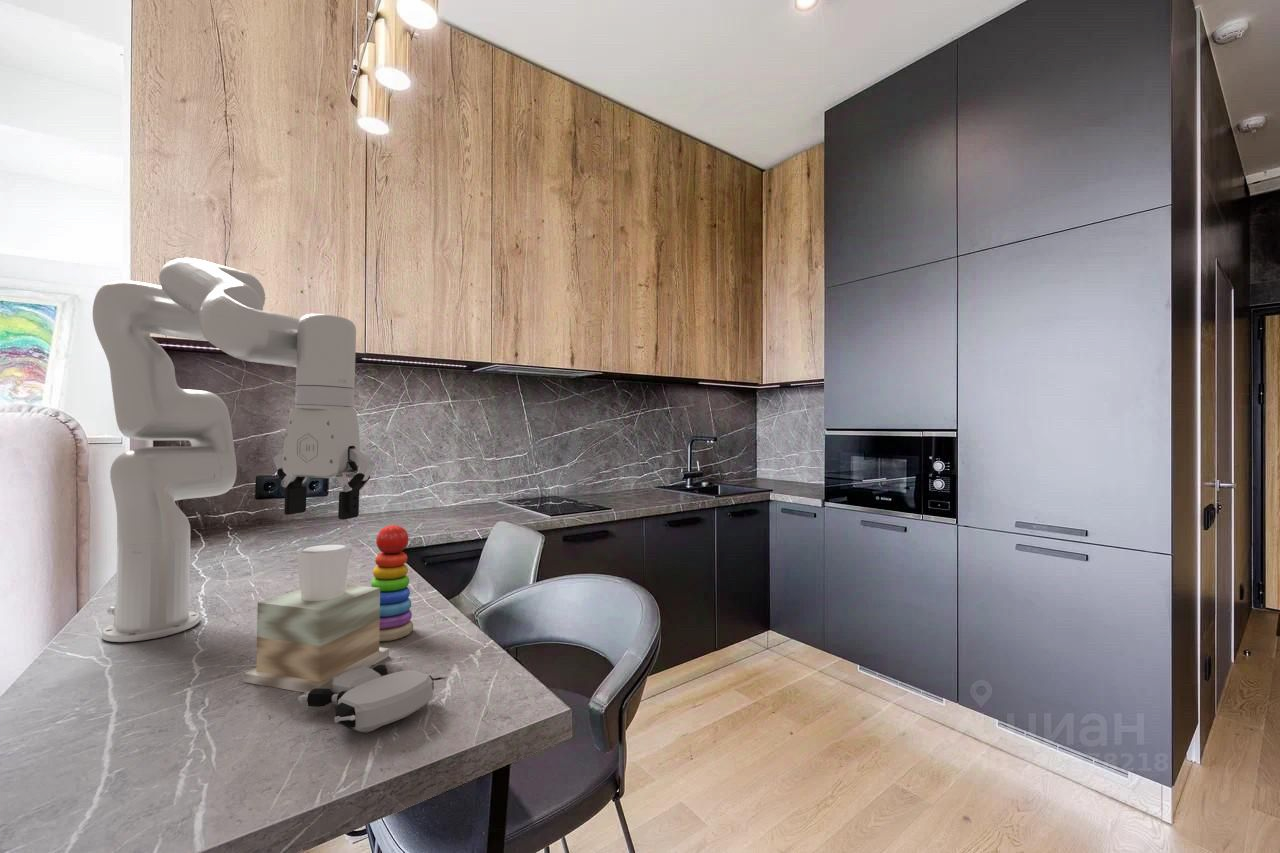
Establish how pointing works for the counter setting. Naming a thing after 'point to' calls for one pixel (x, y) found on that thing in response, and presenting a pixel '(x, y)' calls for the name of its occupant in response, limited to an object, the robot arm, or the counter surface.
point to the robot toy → (373, 696)
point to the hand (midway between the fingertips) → (321, 515)
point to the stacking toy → (392, 583)
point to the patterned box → (316, 638)
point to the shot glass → (323, 571)
